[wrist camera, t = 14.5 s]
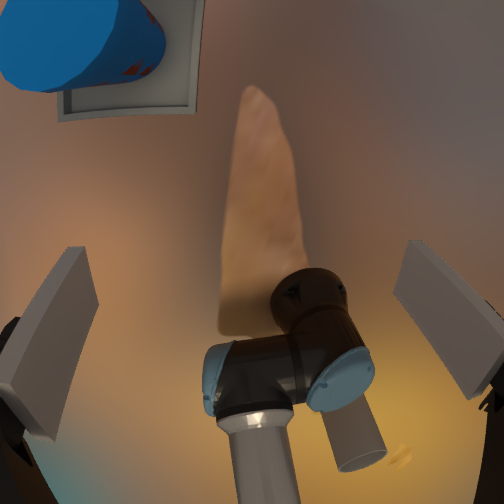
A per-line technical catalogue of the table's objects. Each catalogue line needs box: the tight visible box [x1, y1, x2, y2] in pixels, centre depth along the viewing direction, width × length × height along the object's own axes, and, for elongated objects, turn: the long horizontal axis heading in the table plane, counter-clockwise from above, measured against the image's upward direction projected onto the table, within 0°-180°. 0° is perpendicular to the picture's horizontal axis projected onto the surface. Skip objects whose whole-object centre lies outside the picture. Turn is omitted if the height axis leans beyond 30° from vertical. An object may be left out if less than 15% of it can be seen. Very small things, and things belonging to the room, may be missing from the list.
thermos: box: [0, 0, 166, 93], centre depth 24 cm, size 11×11×25 cm
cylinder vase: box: [321, 393, 388, 472], centre depth 70 cm, size 12×12×25 cm
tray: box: [57, 0, 205, 122], centre depth 34 cm, size 20×20×4 cm
